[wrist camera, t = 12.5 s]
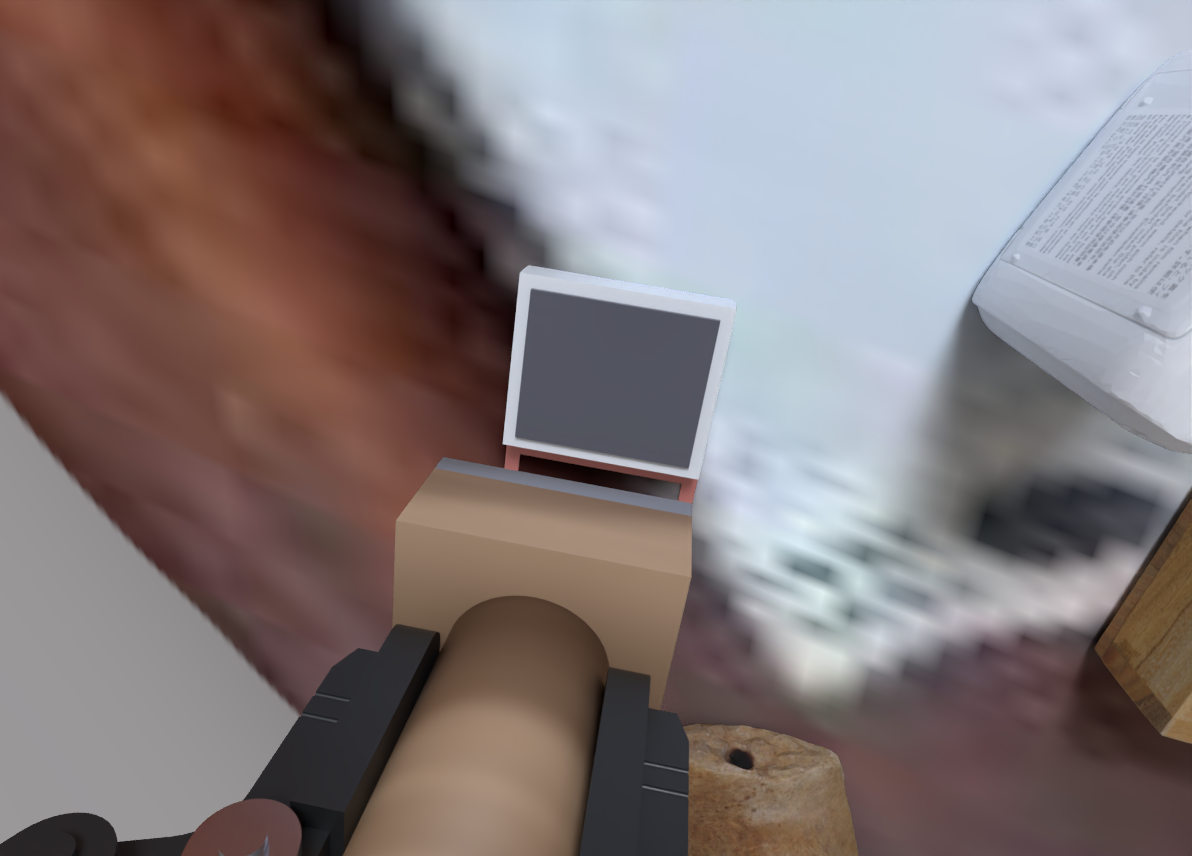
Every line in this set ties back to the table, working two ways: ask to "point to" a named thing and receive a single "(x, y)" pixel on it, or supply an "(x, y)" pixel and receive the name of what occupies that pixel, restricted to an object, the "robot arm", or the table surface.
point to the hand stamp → (520, 653)
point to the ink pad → (615, 370)
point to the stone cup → (764, 795)
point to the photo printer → (1113, 268)
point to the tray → (1158, 636)
